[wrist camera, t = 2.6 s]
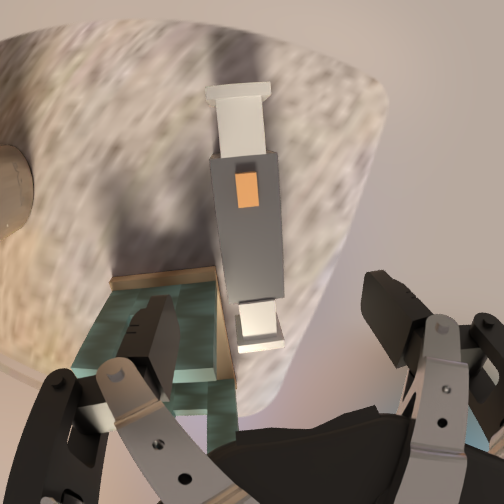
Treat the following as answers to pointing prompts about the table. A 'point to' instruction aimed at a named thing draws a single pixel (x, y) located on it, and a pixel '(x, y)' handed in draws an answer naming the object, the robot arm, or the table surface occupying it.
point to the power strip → (248, 213)
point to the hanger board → (190, 347)
